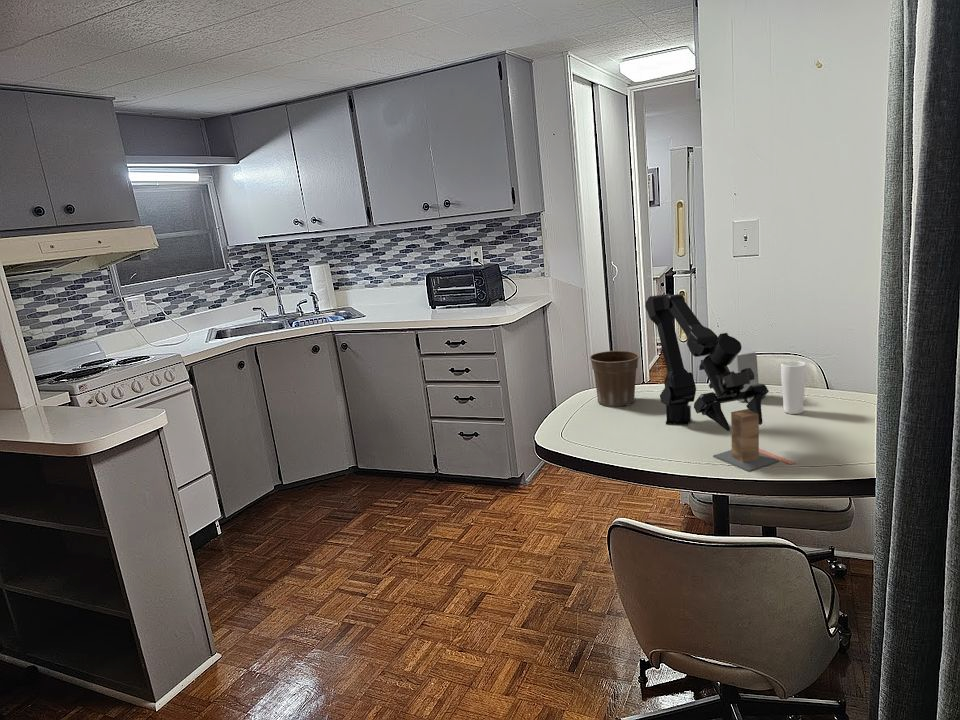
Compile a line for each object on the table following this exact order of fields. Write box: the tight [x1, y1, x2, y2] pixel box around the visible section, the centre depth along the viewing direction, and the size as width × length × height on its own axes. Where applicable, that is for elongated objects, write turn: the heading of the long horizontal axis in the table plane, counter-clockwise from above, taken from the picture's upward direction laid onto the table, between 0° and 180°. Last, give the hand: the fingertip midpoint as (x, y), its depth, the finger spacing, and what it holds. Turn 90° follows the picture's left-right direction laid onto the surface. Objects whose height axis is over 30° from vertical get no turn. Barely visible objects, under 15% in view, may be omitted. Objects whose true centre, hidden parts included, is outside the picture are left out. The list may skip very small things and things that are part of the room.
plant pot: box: [589, 350, 640, 408], centre depth 224 cm, size 16×16×16 cm
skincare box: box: [728, 347, 760, 403], centre depth 215 cm, size 8×7×16 cm
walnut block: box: [730, 408, 760, 462], centre depth 168 cm, size 5×5×12 cm
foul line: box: [759, 448, 796, 466], centre depth 172 cm, size 18×2×1 cm, turn 24°
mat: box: [712, 449, 780, 472], centre depth 170 cm, size 12×10×1 cm
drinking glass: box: [780, 360, 807, 415], centre depth 198 cm, size 7×7×15 cm
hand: (745, 427), depth 168 cm, fingers open, 9 cm apart
